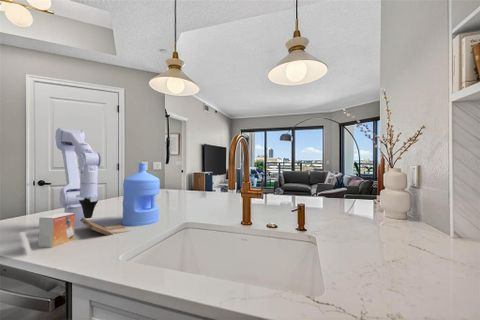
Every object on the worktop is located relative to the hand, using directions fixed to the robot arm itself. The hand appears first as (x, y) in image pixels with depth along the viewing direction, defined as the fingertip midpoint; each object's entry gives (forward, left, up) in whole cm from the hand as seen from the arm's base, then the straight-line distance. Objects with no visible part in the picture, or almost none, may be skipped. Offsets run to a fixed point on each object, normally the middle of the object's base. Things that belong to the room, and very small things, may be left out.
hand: (88, 218), depth 90 cm
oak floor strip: (+2, +9, -6) cm, 12 cm away
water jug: (-2, +21, -7) cm, 23 cm away
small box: (+7, -11, -7) cm, 14 cm away
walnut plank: (+2, +2, -4) cm, 5 cm away
